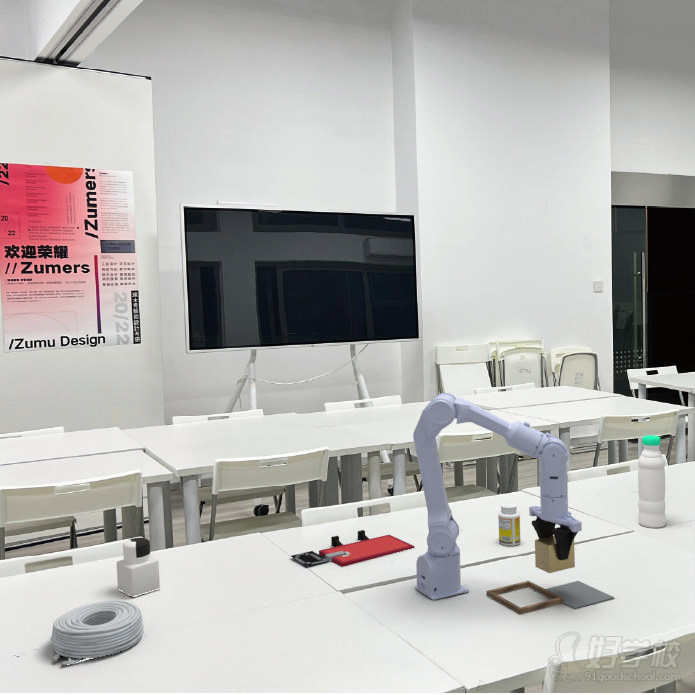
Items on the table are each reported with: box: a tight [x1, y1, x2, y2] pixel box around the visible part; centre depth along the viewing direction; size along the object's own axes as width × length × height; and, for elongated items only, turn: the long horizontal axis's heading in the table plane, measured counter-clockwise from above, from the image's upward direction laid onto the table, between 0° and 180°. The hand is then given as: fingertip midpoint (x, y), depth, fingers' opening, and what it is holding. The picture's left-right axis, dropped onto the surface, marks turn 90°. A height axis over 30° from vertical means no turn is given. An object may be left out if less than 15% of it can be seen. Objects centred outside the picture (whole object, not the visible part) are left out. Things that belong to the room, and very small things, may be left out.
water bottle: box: [637, 434, 666, 529], centre depth 212 cm, size 7×7×25 cm
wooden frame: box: [486, 580, 564, 615], centre depth 165 cm, size 12×12×1 cm
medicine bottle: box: [115, 537, 161, 596], centre depth 177 cm, size 7×7×12 cm
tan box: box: [534, 535, 576, 574], centre depth 165 cm, size 7×4×6 cm, turn 115°
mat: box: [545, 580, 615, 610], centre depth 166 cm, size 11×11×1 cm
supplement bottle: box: [497, 503, 521, 547], centre depth 201 cm, size 6×6×10 cm
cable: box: [50, 600, 145, 666], centre depth 151 cm, size 18×18×6 cm
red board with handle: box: [290, 529, 415, 568], centre depth 199 cm, size 30×3×15 cm
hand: (555, 555), depth 165 cm, fingers closed on tan box, 4 cm apart
